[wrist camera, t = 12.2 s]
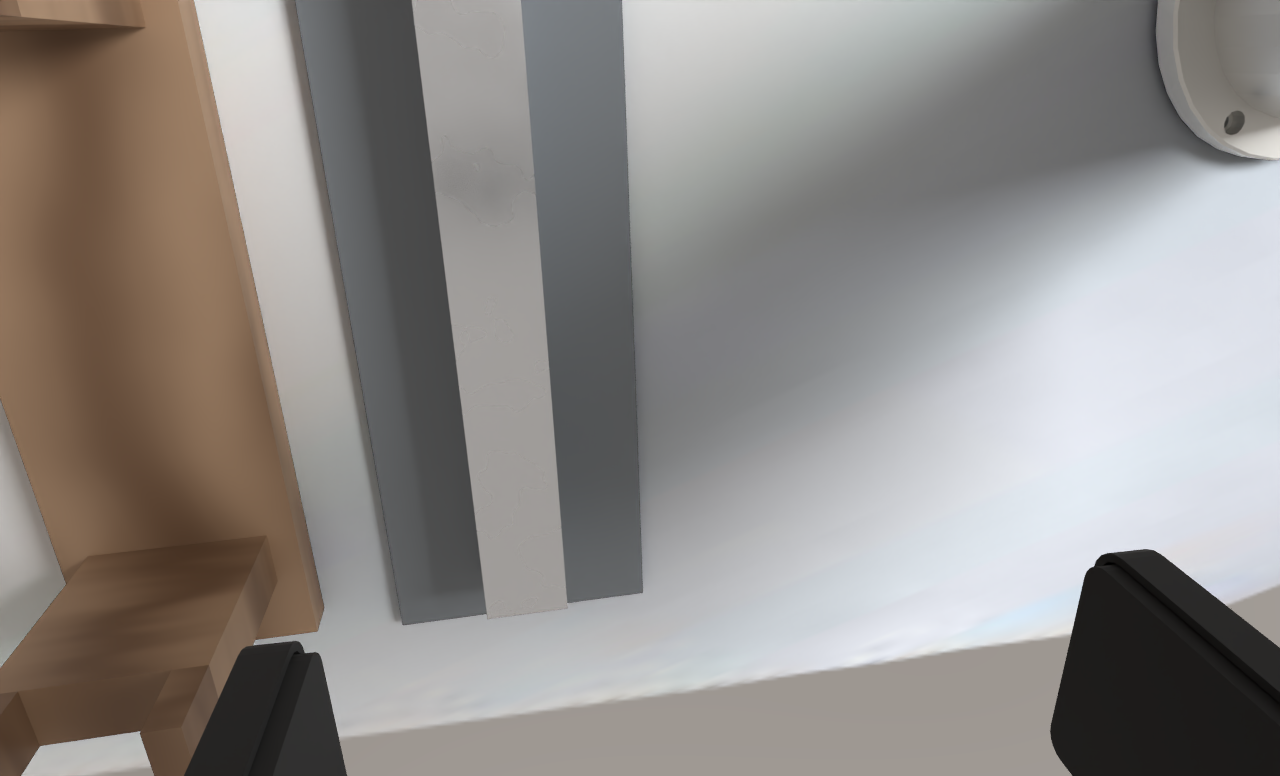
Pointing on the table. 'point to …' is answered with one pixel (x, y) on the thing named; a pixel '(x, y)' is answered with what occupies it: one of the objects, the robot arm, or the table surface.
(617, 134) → the rubber mat
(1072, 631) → the robot arm
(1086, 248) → the table surface
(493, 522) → the steel rail
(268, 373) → the walnut rail stand
